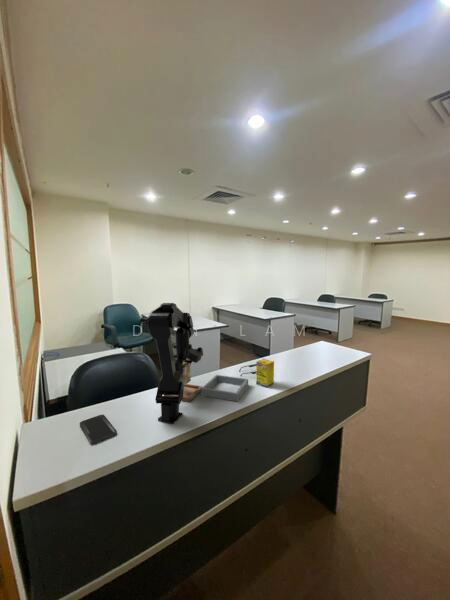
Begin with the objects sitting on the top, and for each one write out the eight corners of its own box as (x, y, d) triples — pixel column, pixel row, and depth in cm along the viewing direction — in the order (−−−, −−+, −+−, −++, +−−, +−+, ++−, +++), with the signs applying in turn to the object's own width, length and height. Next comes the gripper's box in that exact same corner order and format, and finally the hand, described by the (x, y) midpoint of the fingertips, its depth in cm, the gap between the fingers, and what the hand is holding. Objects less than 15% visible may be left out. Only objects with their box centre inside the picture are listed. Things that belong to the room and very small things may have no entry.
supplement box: (256, 384, 115) (256, 361, 114) (263, 380, 120) (263, 358, 119) (266, 388, 111) (266, 364, 110) (274, 383, 115) (274, 361, 115)
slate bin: (237, 401, 99) (237, 394, 99) (201, 395, 105) (201, 388, 105) (248, 385, 114) (248, 379, 114) (216, 380, 120) (216, 374, 119)
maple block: (185, 384, 103) (184, 366, 103) (176, 383, 105) (175, 365, 104) (190, 380, 107) (190, 362, 107) (181, 379, 109) (181, 361, 108)
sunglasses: (264, 377, 123) (263, 367, 123) (241, 381, 123) (239, 371, 122) (260, 369, 134) (259, 360, 133) (239, 373, 133) (237, 364, 133)
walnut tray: (189, 402, 99) (189, 398, 99) (163, 397, 103) (163, 394, 103) (202, 389, 110) (202, 386, 110) (179, 385, 114) (179, 382, 114)
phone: (103, 413, 90) (117, 432, 79) (103, 416, 90) (118, 435, 79) (78, 422, 85) (90, 443, 74) (78, 425, 85) (90, 447, 74)
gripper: (188, 350, 93) (189, 390, 94) (208, 339, 111) (209, 373, 112) (163, 347, 97) (164, 386, 98) (187, 337, 115) (187, 370, 116)
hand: (183, 378), depth 106 cm, fingers closed on maple block, 4 cm apart
